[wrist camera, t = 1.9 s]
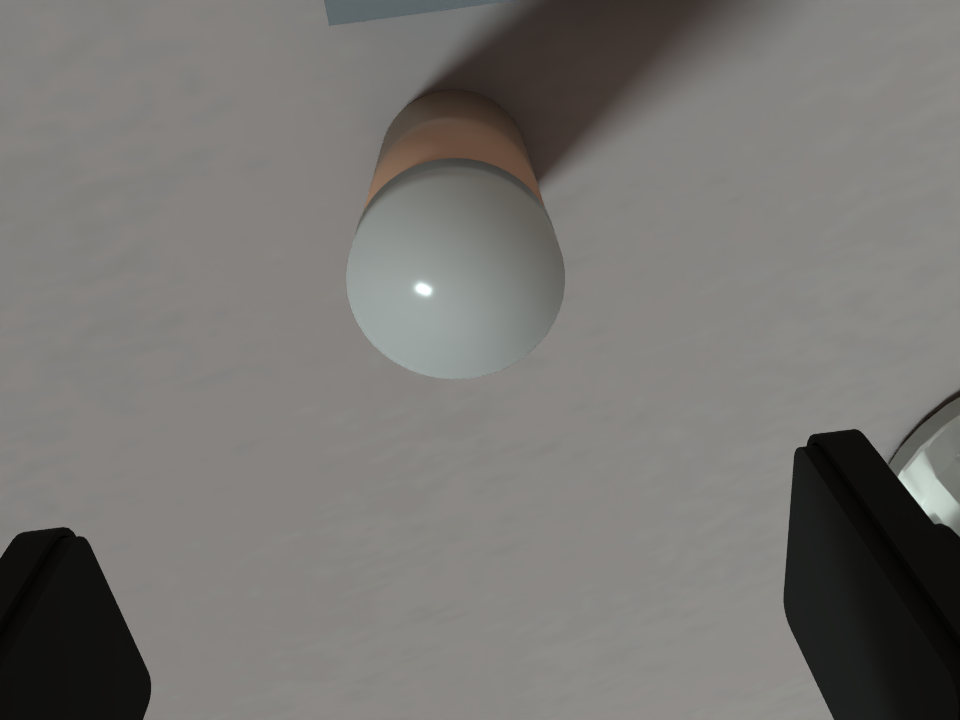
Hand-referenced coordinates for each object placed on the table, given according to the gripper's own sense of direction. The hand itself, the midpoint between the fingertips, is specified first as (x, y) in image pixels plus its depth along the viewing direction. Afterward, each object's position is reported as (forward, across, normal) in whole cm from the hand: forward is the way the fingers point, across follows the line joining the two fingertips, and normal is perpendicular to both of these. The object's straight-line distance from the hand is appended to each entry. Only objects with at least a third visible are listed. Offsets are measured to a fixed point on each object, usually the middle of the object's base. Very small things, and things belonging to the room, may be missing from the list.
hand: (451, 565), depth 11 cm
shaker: (+20, 0, 0) cm, 20 cm away
